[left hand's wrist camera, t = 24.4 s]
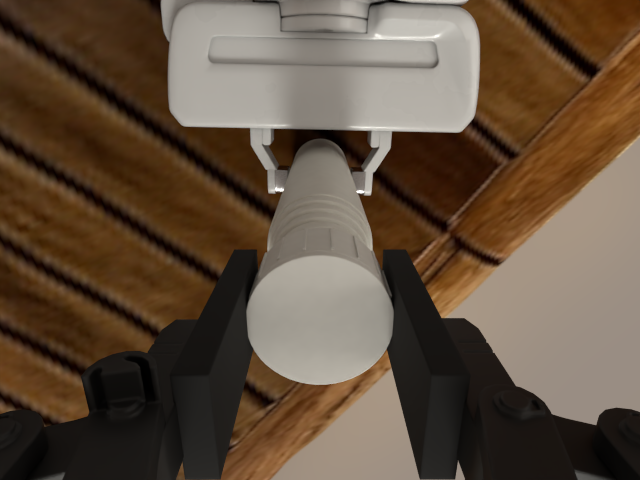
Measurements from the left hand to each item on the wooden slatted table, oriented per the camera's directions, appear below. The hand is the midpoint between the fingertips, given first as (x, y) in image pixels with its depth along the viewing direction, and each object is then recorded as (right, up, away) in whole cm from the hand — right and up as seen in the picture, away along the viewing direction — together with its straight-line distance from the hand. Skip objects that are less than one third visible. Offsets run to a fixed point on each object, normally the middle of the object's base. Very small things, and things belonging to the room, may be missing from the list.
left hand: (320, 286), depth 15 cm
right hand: (0, +5, +16) cm, 17 cm away
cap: (0, -1, -2) cm, 2 cm away
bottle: (0, +8, +22) cm, 23 cm away
